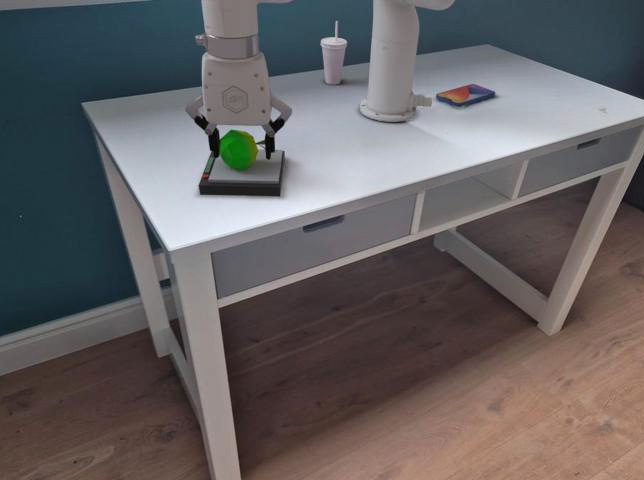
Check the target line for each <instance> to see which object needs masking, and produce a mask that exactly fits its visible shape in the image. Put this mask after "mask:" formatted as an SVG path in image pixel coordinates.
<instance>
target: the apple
mask: <svg viewBox="0 0 644 480" xmlns="http://www.w3.org/2000/svg"><path fill="white" fill-rule="evenodd" d="M258 146H260V147H261V148H262V149H263V150H265V139H262V140H261V141H257V142H256V140H255V137H254V136H253V135H252V134H250V133H249V132H247V131H245V130H237V129H229V131H228V132H226V133H225V134H224V135H223V136H222V137H220V143H219V153H220V156H221V158H222V160H223V162H224V163H226V164H227V165H228V166H229V167H231V168H238V169H246V168H247V167H248V166H249V165H250V164H251V163H253V162H254V161H255V160H256V157H257V154H258Z"/></svg>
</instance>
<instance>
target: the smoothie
mask: <svg viewBox="0 0 644 480" xmlns="http://www.w3.org/2000/svg"><path fill="white" fill-rule="evenodd" d="M338 34H339V21H338V20H335V31H334V35H335V36H332V37H331V36H330V37H324V38H321V40H320V44H319V45H320V46H321V50H322V51H321V53H322V60H323V69H324V70H323V72H324V79H325V82H324V83H326V84H328V85H339V84H341V80H342V73H343V72H342V71H343V66H344V60H345V54H346V48H347V47H348V41H347V40H346V39H344V38H341V37H338V36H339V35H338Z"/></svg>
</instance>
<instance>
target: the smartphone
mask: <svg viewBox="0 0 644 480" xmlns="http://www.w3.org/2000/svg"><path fill="white" fill-rule="evenodd" d="M495 95H496V91H495V90H492V89H489V88H487V87H485V86H484V87H483V86H481V85H478V84H475V83H469V84H466V85H463V86H460V87H456V88H453V89H449V90H445V91H441V92H438V93H436V94H435V99H436V100H437V101H440V102H442V103H445V104H448V105H451V106H453V107H458V108H460V107H464V106H467V105H471V104H474V103H476V102H479V101H483V100H486V99H489V98H493V97H495Z"/></svg>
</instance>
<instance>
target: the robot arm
mask: <svg viewBox="0 0 644 480" xmlns="http://www.w3.org/2000/svg"><path fill="white" fill-rule="evenodd" d="M455 1H456V0H372V6H373V7H372V8H373V9H372V11H373V12H372V32H371V42H370V43H371V45H370V56H369V57H370V58H369V70H368V72H369V73H368V85H367V96H366V97H367V98H365V99H363V100H362V101H361V102H359V112H360V113H361V114H362V115H363V116H365V117H367V118H369V119H371V120H375V121H379V122H386V123H398V122H404V121H405V122H406V121H408V120H411V119H412V118H413V117H415V116H416V113H417V107H426V108H427V107H429V108H431V107H432V105H433V98H432V97H425V96H426V95H425V94H420V93H419V94H415V93H414V92H413V83H414V75H415V67H416V60H417V51H418V45H419V37H420V21H419V20H420V19H419V15H418V12H417V9H416V7H418V8H423V9H428V10H433V11H444V10H447V9H448V8H451V6H452V5H453V4H454V3H455ZM292 2H294V0H200V3H201V10H202V19H203V25H204V33H201V34H196V35H195V44H196V45H197V46H202V47H204V49H205V53H204V54H202V57H201V90H202V93H201V94H200V95H198V96H197V97H196V98H194V99H192V100H191V101H190V102H188V103H187V104H186V106H185V108H184V110H185V112H186V113H187V115H188V116H189V117H190V119H192V120H193V122H194V123H195V125H196V126H198V127H199V128H200V129H201V130H202V131H204V134H205V135H206V136H207V140H208V147H209V151H210V152H211V151H213V154H214V158H218V157H219V155H220V153H219V143H220V139H221V137H220V130H219V128H218V127H217V126H243V127H244V126H245V127H247V126H250V127H261V128H262V129H263V130H264V132H265V135H264V140H265V145H264V147H265V149H264V150H265V151H266V159H267V160H270V159H271V153H275V150H276V134H277V133H278V132H279V131H280V130H281V129H282V128H283V127H284V126H285V124H286V123H287V121H288V120H289V119H290V117H291V116H292V114H293V108H292V107H291V106H290V105H288V104H286V103H285V102H283V101H282V100H281V99H279V98H278V97H277V96H275V95H273V94H272V92H271V85H270V77H269V76H270V75H269V70H268V67H267V66H268V65H267V62H266V61H267V60H266V57H265V54H264V53H263V52H261V50H260V36H259V20H258V5H259V4H287V3H292ZM202 106H203V113H204V114H202V113H201V112H200V111H199V109H200V108H201V107H202ZM272 109H275V110H277V111H278V112H279V113H280V114H279V116H278V117H277V118H276V119H275V120H273V119H272Z"/></svg>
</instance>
